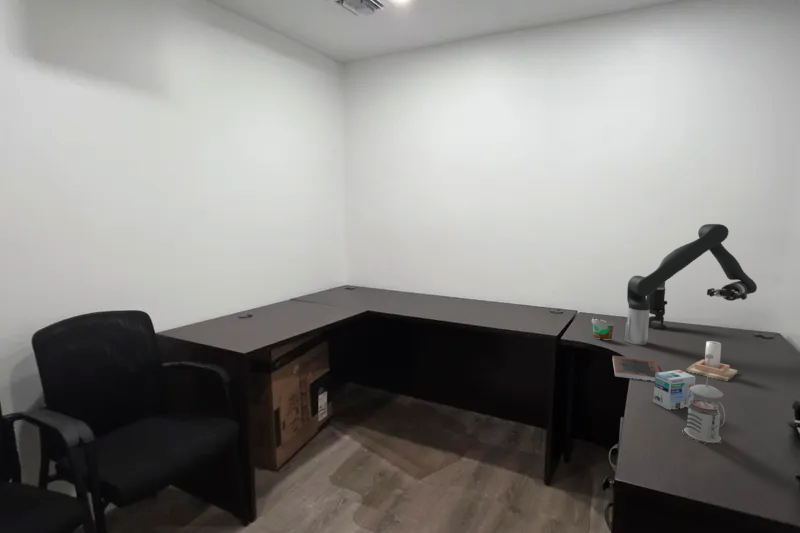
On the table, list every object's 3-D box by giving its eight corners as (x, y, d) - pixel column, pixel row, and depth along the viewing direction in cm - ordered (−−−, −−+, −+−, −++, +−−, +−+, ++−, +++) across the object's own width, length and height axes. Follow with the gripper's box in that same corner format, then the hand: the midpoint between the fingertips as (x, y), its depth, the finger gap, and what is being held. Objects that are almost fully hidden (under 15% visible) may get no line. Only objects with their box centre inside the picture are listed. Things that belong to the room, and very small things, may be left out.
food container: (585, 336, 231) (586, 317, 230) (593, 334, 233) (594, 316, 232) (605, 342, 220) (606, 323, 218) (613, 341, 222) (615, 321, 221)
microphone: (661, 324, 254) (665, 272, 250) (671, 330, 242) (676, 276, 238) (637, 323, 256) (641, 272, 252) (647, 329, 244) (651, 275, 240)
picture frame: (662, 384, 170) (655, 365, 189) (662, 377, 169) (655, 360, 189) (614, 377, 176) (612, 360, 196) (615, 371, 176) (612, 355, 195)
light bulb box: (668, 410, 146) (671, 379, 145) (652, 402, 152) (654, 372, 151) (693, 406, 149) (696, 376, 148) (676, 398, 155) (679, 369, 154)
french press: (706, 427, 135) (713, 348, 132) (736, 447, 124) (745, 361, 120) (674, 427, 135) (681, 348, 132) (701, 448, 123) (710, 362, 120)
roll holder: (686, 371, 181) (686, 363, 180) (697, 363, 190) (698, 356, 189) (727, 381, 170) (727, 373, 170) (737, 373, 179) (738, 365, 179)
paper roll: (702, 368, 180) (704, 342, 179) (706, 366, 183) (708, 340, 182) (716, 372, 176) (718, 345, 175) (721, 369, 180) (723, 343, 178)
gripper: (715, 281, 211) (704, 285, 201) (752, 285, 200) (742, 289, 190) (714, 297, 212) (702, 301, 202) (750, 301, 201) (740, 306, 191)
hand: (722, 295), depth 196 cm, fingers open, 8 cm apart
